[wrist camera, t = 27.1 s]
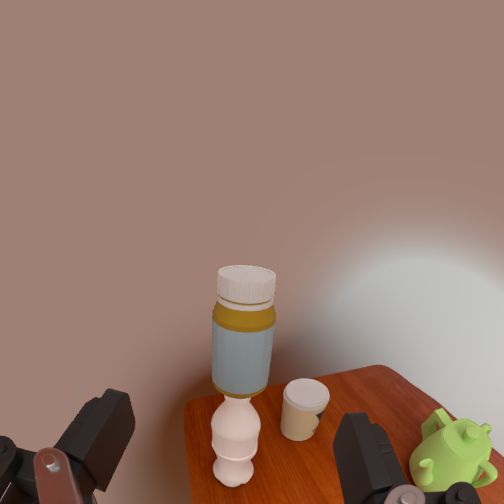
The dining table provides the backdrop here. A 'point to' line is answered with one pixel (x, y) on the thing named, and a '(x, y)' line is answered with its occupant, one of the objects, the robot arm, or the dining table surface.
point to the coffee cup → (303, 408)
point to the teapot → (451, 454)
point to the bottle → (243, 330)
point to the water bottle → (234, 440)
